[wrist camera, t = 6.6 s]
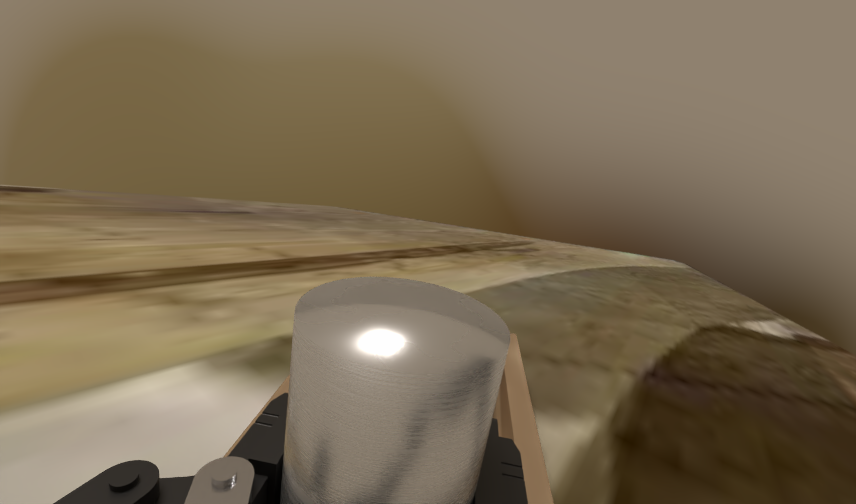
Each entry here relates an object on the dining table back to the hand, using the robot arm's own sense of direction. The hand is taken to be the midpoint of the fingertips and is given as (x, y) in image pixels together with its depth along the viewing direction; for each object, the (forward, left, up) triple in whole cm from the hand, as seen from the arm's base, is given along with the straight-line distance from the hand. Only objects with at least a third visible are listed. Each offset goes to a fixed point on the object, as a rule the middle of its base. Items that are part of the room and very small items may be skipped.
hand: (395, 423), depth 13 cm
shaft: (0, +3, -7) cm, 7 cm away
